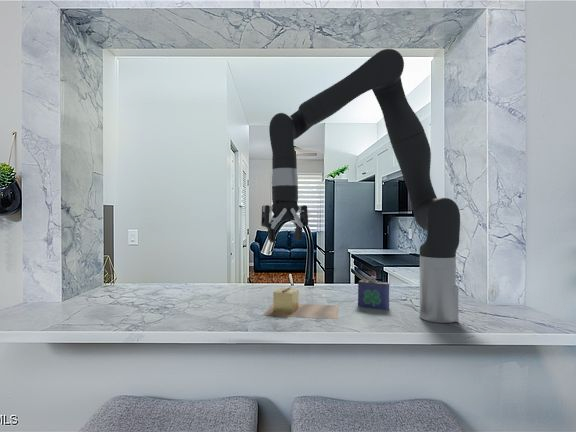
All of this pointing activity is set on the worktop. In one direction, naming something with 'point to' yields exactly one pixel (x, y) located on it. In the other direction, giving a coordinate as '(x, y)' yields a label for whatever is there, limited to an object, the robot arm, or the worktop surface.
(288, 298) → the cap
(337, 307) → the bolt base
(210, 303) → the worktop surface
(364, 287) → the clover print carton
